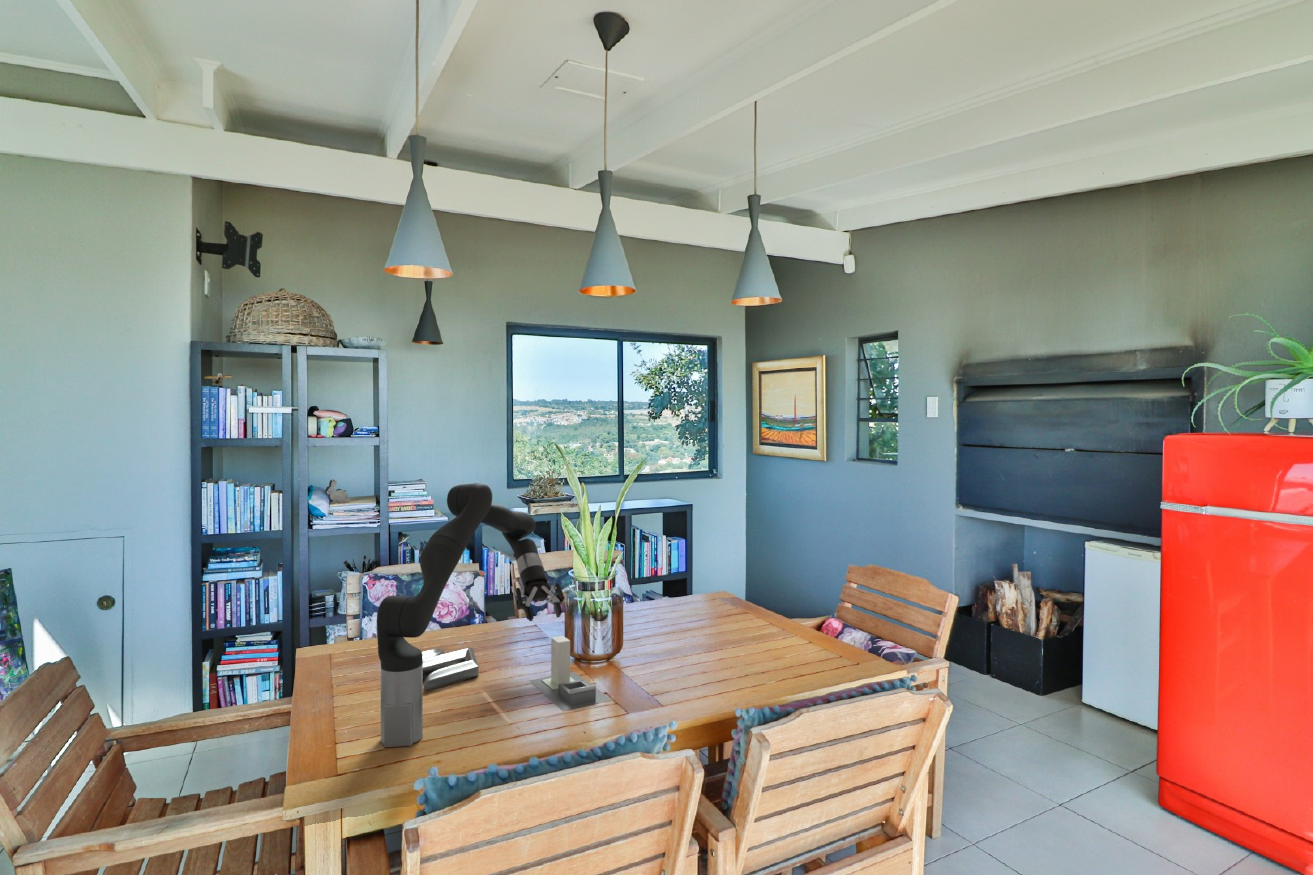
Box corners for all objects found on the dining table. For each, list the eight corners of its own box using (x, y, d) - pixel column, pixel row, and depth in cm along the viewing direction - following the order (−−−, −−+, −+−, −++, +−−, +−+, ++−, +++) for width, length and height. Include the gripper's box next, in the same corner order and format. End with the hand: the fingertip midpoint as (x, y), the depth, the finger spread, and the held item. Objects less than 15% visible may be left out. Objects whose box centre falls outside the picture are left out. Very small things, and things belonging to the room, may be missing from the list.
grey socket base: (562, 715, 182) (563, 696, 182) (528, 684, 203) (528, 667, 202) (612, 704, 189) (612, 686, 189) (574, 675, 210) (574, 659, 210)
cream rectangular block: (558, 685, 198) (558, 642, 198) (551, 680, 202) (551, 637, 202) (569, 683, 200) (570, 640, 199) (562, 677, 204) (562, 635, 204)
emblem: (416, 638, 227) (498, 645, 221) (416, 655, 227) (498, 662, 222) (361, 669, 200) (454, 677, 194) (361, 688, 200) (454, 697, 194)
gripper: (512, 566, 214) (525, 614, 204) (556, 561, 221) (571, 607, 212) (506, 580, 219) (519, 628, 209) (550, 575, 226) (564, 621, 216)
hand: (545, 617), depth 210 cm, fingers open, 8 cm apart
